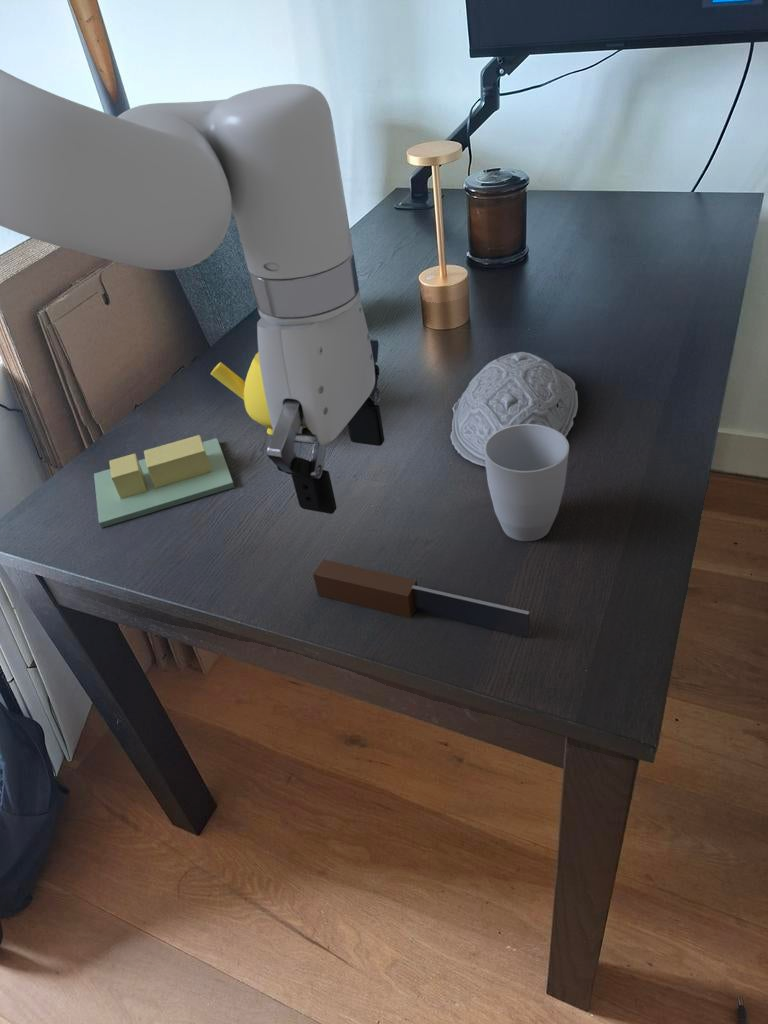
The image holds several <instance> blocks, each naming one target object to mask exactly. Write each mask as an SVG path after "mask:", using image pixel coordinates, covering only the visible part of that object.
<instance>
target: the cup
mask: <svg viewBox="0 0 768 1024" xmlns="http://www.w3.org/2000/svg"><path fill="white" fill-rule="evenodd" d="M569 451H570V444H569V441H568V439H567V437H564V436H563V435H562V434H561V433H560V432H558V431H556V430H554V429H552V428H549V427H546V426H542V425H536V424H520V425H513V426H509V427H506V428H503V429H501V430H498V431H497V432H495V433H493V434H492V435H491V436H490V437H489V438H488V439H487V440H486V442H485V445H484V456H485V464H486V467H485V471H486V472H485V473H486V479H487V486H488V487H487V488H488V490H489V494H490V498H491V502H492V506H493V510H494V514H495V516H496V518H497V520H498V523H499V525H500V526H501V529H502V530H503V532H504V534H505V535H506V536H507V537H509V538H510V539H512V540H515V541H521V542H533V541H537V540H540V539H542V538H544V537H545V536H547V535H548V534H549V532H550V530H551V529H552V526H553V524H554V522H555V520H556V517H557V516H558V514H559V510H560V506H561V501H562V499H563V494H564V490H565V486H566V480H567V470H568V461H569Z"/></svg>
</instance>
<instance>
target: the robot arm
mask: <svg viewBox="0 0 768 1024" xmlns="http://www.w3.org/2000/svg"><path fill="white" fill-rule="evenodd" d="M335 133H336V132H335V127H334V121H333V116H332V111H331V107H330V105H329V101H328V100H327V98H326V96H325V95H324V94H323V93H322V92H321V91H320V90H318V89H317V88H315V87H314V86H311V85H307V84H301V83H287V84H285V83H284V84H276V85H268V86H262V87H259V88H253V89H250V90H247V91H243V92H240V93H237V94H233V95H232V96H230V97H228V98H226V99H225V98H224V99H217V100H215V99H214V100H200V101H184V102H183V101H181V102H179V101H178V102H156V103H147V104H142V105H138V106H134V107H131V108H129V109H127V110H125V111H123V112H122V113H120V114H119V115H118V116H115V115H112V114H110V113H107V112H104V111H100V110H98V109H96V108H93V107H90V106H87V105H84V104H81V103H79V102H76V101H73V100H70V99H68V98H66V97H63V96H60V95H58V94H56V93H53V92H50V91H48V90H45V89H43V88H41V87H38V86H36V85H34V84H31V83H30V82H27V81H25V80H24V79H21V78H19V77H16V76H14V75H12V74H10V73H8V72H6V71H5V70H2V69H1V68H0V227H2V228H5V229H8V230H10V231H13V232H15V233H17V234H20V235H22V236H25V237H29V238H31V239H34V240H37V241H41V242H43V243H47V244H49V245H54V246H56V247H61V248H63V249H66V250H67V249H68V250H70V251H74V252H78V253H81V254H85V255H88V256H93V257H97V258H100V259H104V260H107V261H111V262H115V263H118V264H122V265H127V266H130V267H135V268H140V269H146V270H152V271H153V270H154V271H176V270H181V269H187V268H189V267H193V266H196V265H198V264H200V263H201V262H203V261H205V260H206V259H208V258H209V257H210V256H211V255H212V254H214V253H215V252H216V251H217V249H218V248H219V247H220V245H221V244H222V243H223V241H224V239H225V238H226V236H227V232H228V230H229V227H230V224H231V219H232V216H233V218H234V221H235V222H236V226H237V231H238V235H239V239H240V243H241V248H242V251H243V255H244V259H245V264H246V268H247V272H248V275H249V280H250V284H251V288H252V291H253V296H254V300H255V303H256V307H257V312H258V315H259V317H260V319H259V320H258V321H257V323H256V333H257V334H256V335H257V353H258V352H259V361H260V369H261V375H262V381H263V386H264V392H265V397H266V402H267V407H268V412H269V416H270V420H271V424H272V428H273V431H274V432H273V435H271V438H270V440H269V442H268V445H267V449H266V455H267V457H268V458H269V459H270V460H271V461H272V463H273V464H274V465H275V466H276V469H277V470H278V471H279V472H282V473H285V474H286V475H290V476H291V479H292V483H293V486H294V490H295V494H296V498H297V502H298V505H299V507H300V508H301V509H303V510H305V511H312V512H318V513H324V514H329V515H332V514H334V513H335V512H336V510H337V508H338V507H337V503H336V498H335V493H334V489H333V483H332V480H331V475H330V471H329V470H326V469H324V466H325V459H326V455H327V448H328V444H329V443H331V442H333V441H334V440H335V439H337V437H338V436H339V435H340V434H341V433H342V431H343V430H344V429H345V427H346V426H347V428H348V434H349V439H350V441H351V443H354V444H361V445H367V446H368V445H369V446H374V447H375V446H376V447H381V446H382V445H383V444H384V443H385V434H384V427H383V421H382V415H381V409H380V404H378V403H379V402H380V400H381V391H380V389H379V388H378V387H377V385H378V381H379V376H380V374H381V372H380V367H379V364H377V363H378V360H379V340H377V339H375V338H374V339H372V338H370V334H369V333H370V332H369V329H368V324H367V320H366V316H365V311H364V307H363V305H362V301H361V291H360V285H359V280H358V272H357V266H356V259H355V253H354V248H353V241H352V240H353V239H352V234H351V228H350V221H349V216H348V209H347V202H346V197H345V191H344V190H345V189H344V183H343V178H342V177H343V176H342V171H341V165H340V159H339V153H338V152H339V151H338V145H337V140H336V134H335ZM303 426H307V427H308V428H309V430H310V433H311V434H303V429H304V428H303ZM307 427H306V428H307ZM309 430H308V431H309ZM303 444H309V445H313V446H312V452H311V459H310V460H308V459H306V458H303V457H301V451H302V445H303Z"/></svg>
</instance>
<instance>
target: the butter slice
mask: <svg viewBox="0 0 768 1024" xmlns="http://www.w3.org/2000/svg"><path fill="white" fill-rule="evenodd" d="M108 462H109V469H110V471H111V478H112V480H113V483H114V485H115V487H116V490H117V492H118V494H119V497H120V499H122V498H126V497H129V496H132V495H136V494H139V493H142V492H146V491H147V489H146V484H145V479H144V474H143V471H142V469H141V466H140V464H139V458H138V456H137V453H131V454H127V455H124V456H121V457H117V458H114V459H110V460H108Z"/></svg>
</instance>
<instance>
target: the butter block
mask: <svg viewBox="0 0 768 1024" xmlns="http://www.w3.org/2000/svg"><path fill="white" fill-rule="evenodd" d="M202 442H203V440H202V437H201V435H200V434H197V435H194V436H191V437H187V438H184V439H180V440H176V441H173V442H169V443H166V444H163V445H159V446H156V447H152V448H148V449H145V450H143V454H144V459H145V460H146V464H147V469H148V471H149V474H150V476H151V479H152V481H153V484H154V487H155V488H159V487H162V486H165V485H169V484H172V483H175V482H179V481H182V480H185V479H189V478H192V477H195V476H199V475H202V474H205V473H209V472H211V467H210V464H209V461H208V458H207V455H206V452H205V449H204V446H203V443H202Z"/></svg>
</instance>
